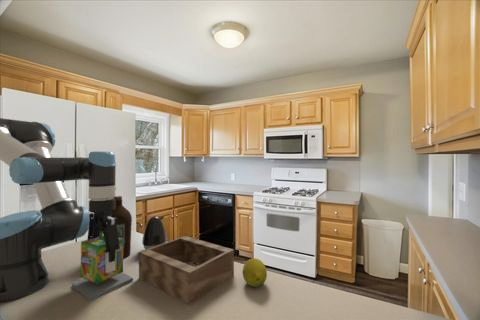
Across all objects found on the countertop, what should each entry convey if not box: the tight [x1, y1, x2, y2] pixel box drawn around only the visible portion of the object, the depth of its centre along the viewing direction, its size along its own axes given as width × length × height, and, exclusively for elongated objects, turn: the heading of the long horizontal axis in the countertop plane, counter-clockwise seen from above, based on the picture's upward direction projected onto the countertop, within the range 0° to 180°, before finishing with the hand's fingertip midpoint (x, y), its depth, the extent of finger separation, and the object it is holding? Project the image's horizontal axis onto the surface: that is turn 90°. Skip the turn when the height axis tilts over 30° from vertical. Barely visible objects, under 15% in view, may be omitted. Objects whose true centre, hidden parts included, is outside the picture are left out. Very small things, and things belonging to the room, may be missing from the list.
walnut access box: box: [138, 235, 235, 306], centre depth 81 cm, size 25×20×9 cm
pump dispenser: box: [142, 215, 168, 250], centre depth 105 cm, size 10×10×15 cm
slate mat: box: [71, 272, 134, 301], centre depth 77 cm, size 13×13×1 cm
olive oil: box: [111, 195, 133, 259], centre depth 98 cm, size 11×11×25 cm
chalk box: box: [79, 231, 124, 284], centre depth 76 cm, size 9×9×15 cm
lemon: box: [242, 258, 268, 288], centre depth 76 cm, size 11×8×8 cm
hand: (102, 266), depth 77 cm, fingers closed on chalk box, 9 cm apart
